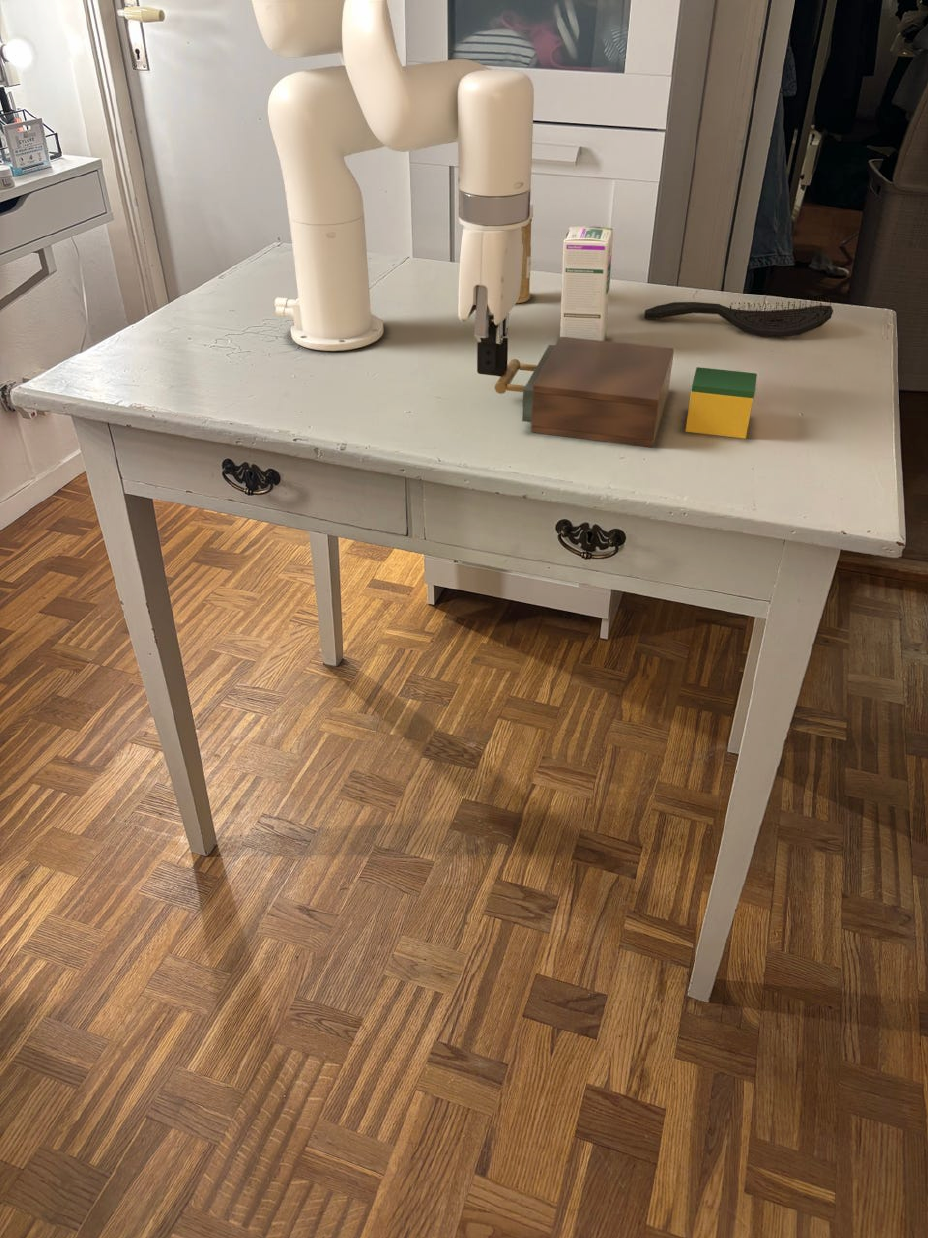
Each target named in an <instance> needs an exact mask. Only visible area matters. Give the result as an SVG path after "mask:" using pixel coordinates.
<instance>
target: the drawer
mask: <svg viewBox="0 0 928 1238" xmlns="http://www.w3.org/2000/svg"><path fill="white" fill-rule="evenodd" d="M555 345H556V344H549V345H548V346H547V347H546V349H545V351H544V353H543V355H542V356H541V358H540V360H539V361H538V363H537V364H530V363H529V364H527V363H521V361H520V360H518V359H517V358H512V359H511V360H510V361H509V362H508V363H507V370H506V371H505V373H504V375H502V376H499V378H498V379H497V381H496V383H495V384H494V391H495V392H496V393H498V394H500V395H502V394H505V393H506V392H507V391H509V392H516V393H517V392H518V393H522V409H521V410H522V411H521V412H522V414H521V421H522V422H526V423H531V420H532V395H533V385H534V383H535V381H536V379H537V378H538V376H539V374H540V372H541V370H542V369H543V367H544V365H545V363H546V362H547V360H548V358H549V356H550V354H551V353H552V351H553V349H554V347H555ZM519 371H526V372H532V374H531V375H530V377H529V379H528V381H527V383H526V384H525V385H523V384H522V385H521V384H512V382H513V380H514V378H515V377H516V375H517V373H518V372H519Z"/></svg>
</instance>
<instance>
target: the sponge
mask: <svg viewBox="0 0 928 1238" xmlns="http://www.w3.org/2000/svg"><path fill="white" fill-rule="evenodd" d="M757 377H758V374H757V373H756V372H747V371H739V370H738V371H737V370H729V369H719V368H709V367H701V366H697V367H696V368H695V372H694V376H693V380H692V384H691V390H690V397H689V404H688V411H687V417H686V424H685V432H687V433H695V434H702V435H703V434H704V435H710V436H711V435H712V436H719V437H727V438H736V439H744V440H745V439H747V433H748V429H749V424H750V418H751V413H752V407H753V403H754V399H755V393H756V385H757Z"/></svg>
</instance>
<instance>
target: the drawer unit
mask: <svg viewBox="0 0 928 1238" xmlns="http://www.w3.org/2000/svg"><path fill="white" fill-rule="evenodd" d="M554 345H555V347H554V349H553V351H552V353H551V354H550V356H549V358H548V360H547V362H546V363H545V365H544V367H543V369H542V370H541V372H540V374H539V376H538V378H537V379H536V381H535V383H534V385H533V395H532V420H531V422H530V423H531V425H530V432H531V433H536V434H542V435H543V434H544V435H551V436H560V437H565V438H566V437H567V438H575V439H583V440H591V441H599V442H608V443H615V444H623V445H629V446H630V445H631V446H638V447H639V446H640V447H648V448H653V446H654V443H655V439H656V436H657V433H658V430H659V425H660V423H661V419H662V417H663V416H662V415H663V413H664V409H665V406H666V402H667V398H668V396H669V395H668V394H669V390H670V384H671V382H670V381H671V375H672V368H673V361H674V353H675V347H667V346H657V345H647V344H638V343H628V342H627V343H626V342H619V341H607V340H605V341H599V340H589V339H579V338H569V337H560V336H559V338H558V340H557V342H556V344H554Z"/></svg>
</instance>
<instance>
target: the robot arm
mask: <svg viewBox="0 0 928 1238" xmlns="http://www.w3.org/2000/svg"><path fill="white" fill-rule="evenodd" d="M251 3H252V7H253V11H254V15H255V19H256V22H257V26H258V29H259V32H260V35H261V37H262V39H263V42H264V43H265V45H266V47H267V48H268V50H269V51H270V52H272V53H273V54H274V55H277V56H278V57H282V58H287V59H299V58H301V59H302V58H309V57H317V56H324V55H325V56H326V55H334V54H338V56H339V58H340V59H339V60H340V62H341V65H335V66H334V65H333V66H325V67H318V68H311V69H305V70H304V69H303V70H300V71H296V72H293V73H291V74H288V75H286V76H285V77H283V78H281V79H280V80H279V81H278V82H277V83H276V84H275V85H274V87H273V88H272V90H271V92H270V95H269V96H268V101H267V117H268V118H267V119H268V124H269V129H270V131H271V134H272V135H271V136H272V139H273V143H274V145H275V149H276V153H277V155H278V160H279V162H280V163H279V164H280V168H281V172H282V178H283V183H284V190H285V198H286V205H287V215H288V222H289V227H290V228H289V230H290V239H291V245H292V246H291V247H292V255H293V264H294V272H295V281H296V282H295V283H296V288H297V297H296V299H293V298H289V297H282V296H277V297H276V298H275V299H274V304H273V305H274V309H275V310H274V311H275V316H276V317H278V318H291V320H292V321H293V323H292V325H291V327H290V337H291V339H292V340H293V342H295V344H297V345H299V346H301V347H304V348H307V349H310V350H314V351H323V352H324V351H325V352H339V351H350V350H355V349H359V348H363V347H366V346H369V345H372V344H374V343H375V342H377V341H378V340H379V339H380V338H382V336H383V335H384V323H383V320H382V319H381V318H379V317H377V316H376V315H374V314H372V306H371V294H370V278H369V266H368V250H367V237H366V221H365V210H364V199H363V194H362V191H361V190H362V189H361V188H360V187H361V186H360V185H359V183H358V181H357V180H356V177H355V176H354V175H353V173H352V171H351V170H350V169H349V167H348V165H347V164H346V161H345V157H348V156H351V155H354V154H358V153H363V152H368V151H372V150H378V149H381V148H385V147H386V148H388V149H389V150H392V151H395V152H400V153H405V152H412V151H418V150H423V149H426V148H432V147H435V146H440V145H447V144H452V143H457V167H458V169H457V172H458V174H457V176H458V177H457V179H458V183H457V184H458V224H460V225H461V226H462V227H463V229H462V235H461V236H462V238H461V244H460V256H459V270H458V271H459V274H458V299H457V300H458V302H457V304H458V305H457V306H458V307H457V316H458V319H459V320H460V321H461V322H466V321H467V320H468V319H469V318H470V317H471V316H472V314H474V312H475V318H474V319H475V320H474V334H473V337H474V338H476V347H477V348H476V372H477V373H478V374H479V375H485V376H493V377H500V376H502V375H504V373H505V371H506V370H507V365H508V361H509V360H508V354H509V349H508V348H509V338H508V335H509V327H510V325H509V324H510V313H511V311H512V309H514V307H515V305H516V304H517V303H516V302H517V301H518V299H519V296H520V290H521V277H522V227H524V226H526V225H527V224H528V223H529V221H530V202H531V193H532V188H531V187H532V162H533V161H532V160H533V134H534V133H533V131H534V130H533V129H534V128H533V127H534V102H535V93H534V91H535V89H534V84H533V81H532V80H531V78H530V77H529V75H527V74H526V73H524V72H521V71H517V70H511V69H493V68H491V67H489V66H486V65H484V64H482V63H480V62H477V61H475V60H472V59H466V58H454V59H447V60H440V61H431V62H422V63H417V64H409V65H403V64H402V62H401V59H400V58H399V54H398V49H397V44H396V38H395V34H394V29H393V24H392V18H391V13H390V10H389V9H390V8H389V5H388V0H251Z"/></svg>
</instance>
